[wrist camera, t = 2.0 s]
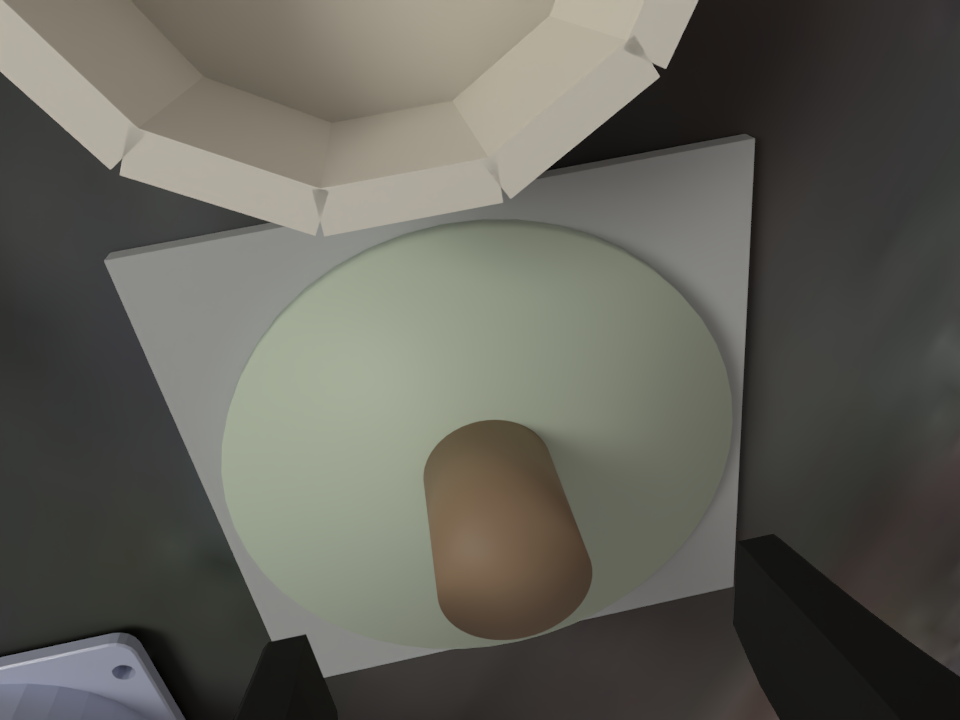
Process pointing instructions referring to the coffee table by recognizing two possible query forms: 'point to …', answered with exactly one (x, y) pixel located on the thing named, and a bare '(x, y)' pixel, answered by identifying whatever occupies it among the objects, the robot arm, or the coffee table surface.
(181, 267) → the mat
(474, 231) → the lid
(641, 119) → the coffee table surface
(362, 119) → the bowl
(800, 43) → the coffee table surface
